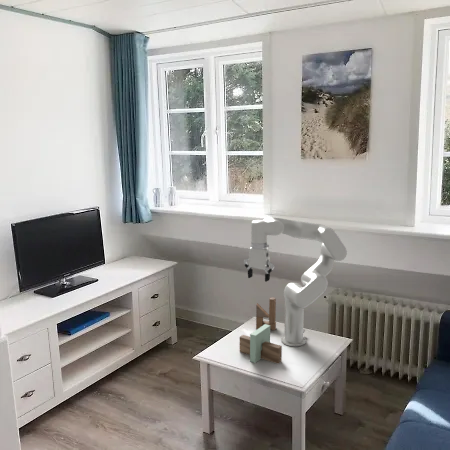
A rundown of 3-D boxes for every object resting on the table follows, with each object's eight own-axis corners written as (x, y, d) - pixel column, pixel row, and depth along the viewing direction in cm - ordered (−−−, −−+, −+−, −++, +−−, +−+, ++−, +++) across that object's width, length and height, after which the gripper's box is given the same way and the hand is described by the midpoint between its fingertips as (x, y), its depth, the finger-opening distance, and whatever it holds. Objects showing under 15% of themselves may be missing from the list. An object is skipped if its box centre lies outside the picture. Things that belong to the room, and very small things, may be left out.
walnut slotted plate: (242, 349, 240) (242, 334, 238) (281, 361, 227) (281, 345, 226) (239, 351, 237) (239, 336, 236) (278, 363, 225) (278, 348, 223)
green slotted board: (264, 350, 239) (265, 324, 236) (269, 351, 237) (270, 325, 234) (250, 361, 228) (250, 334, 225) (255, 363, 226) (255, 335, 223)
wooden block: (256, 326, 267) (256, 296, 263) (275, 327, 265) (276, 297, 261) (256, 329, 263) (256, 298, 260) (275, 330, 262) (276, 299, 258)
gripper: (278, 246, 229) (277, 280, 233) (247, 241, 239) (247, 274, 242) (270, 249, 223) (270, 284, 227) (239, 244, 233) (239, 278, 236)
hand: (258, 279), depth 235 cm, fingers open, 9 cm apart
